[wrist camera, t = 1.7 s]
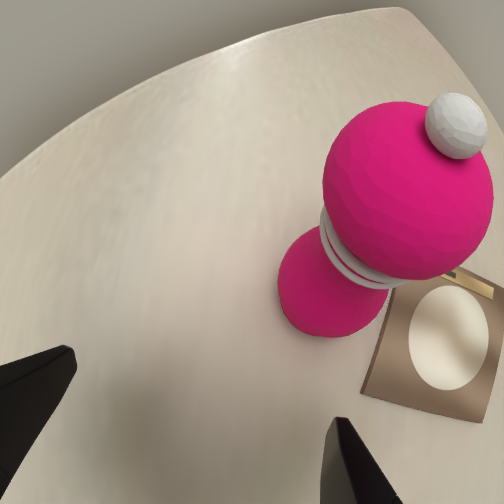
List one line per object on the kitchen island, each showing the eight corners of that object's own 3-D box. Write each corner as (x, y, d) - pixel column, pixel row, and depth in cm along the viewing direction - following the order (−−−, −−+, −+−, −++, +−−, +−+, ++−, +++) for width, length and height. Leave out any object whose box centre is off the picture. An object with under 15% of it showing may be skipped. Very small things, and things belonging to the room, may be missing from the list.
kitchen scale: (476, 422, 20) (483, 423, 19) (360, 393, 22) (364, 393, 21) (504, 292, 24) (510, 290, 23) (402, 245, 26) (407, 241, 25)
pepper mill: (255, 310, 24) (264, 105, 5) (304, 236, 26) (379, 2, 7) (335, 359, 23) (563, 309, 4) (377, 282, 25) (556, 118, 6)
